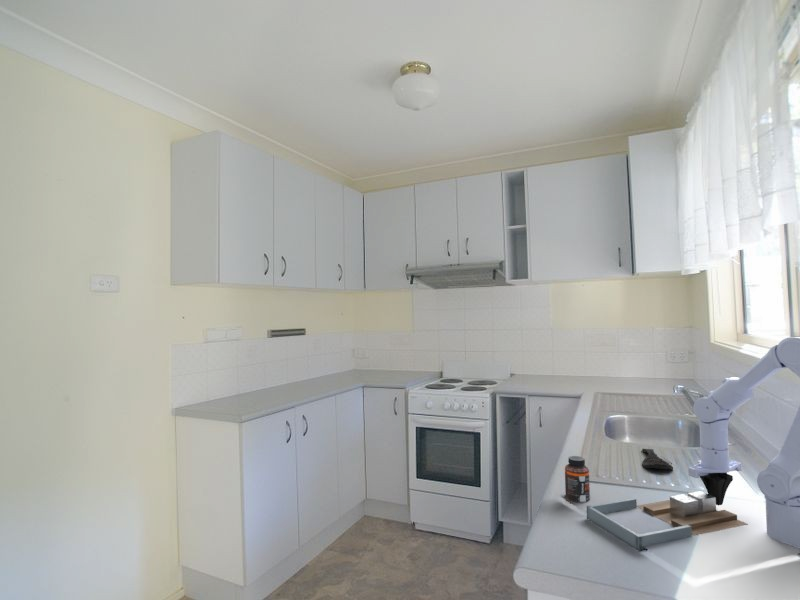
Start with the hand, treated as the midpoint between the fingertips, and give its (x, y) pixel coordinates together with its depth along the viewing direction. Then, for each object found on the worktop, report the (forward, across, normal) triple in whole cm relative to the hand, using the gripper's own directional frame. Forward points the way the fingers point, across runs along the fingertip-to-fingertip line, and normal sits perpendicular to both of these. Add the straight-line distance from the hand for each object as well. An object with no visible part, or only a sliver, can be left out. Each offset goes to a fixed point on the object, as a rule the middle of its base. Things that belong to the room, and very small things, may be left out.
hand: (716, 503), depth 111 cm
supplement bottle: (+3, +27, -17) cm, 32 cm away
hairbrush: (+3, -17, -36) cm, 39 cm away
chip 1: (+1, +10, 0) cm, 10 cm away
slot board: (+2, +9, 0) cm, 9 cm away
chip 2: (+1, +5, 0) cm, 5 cm away
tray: (+2, +24, 0) cm, 24 cm away
